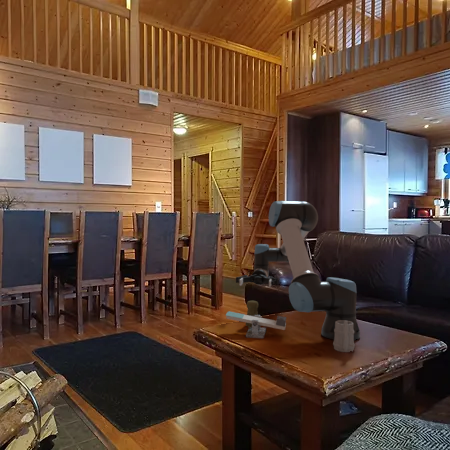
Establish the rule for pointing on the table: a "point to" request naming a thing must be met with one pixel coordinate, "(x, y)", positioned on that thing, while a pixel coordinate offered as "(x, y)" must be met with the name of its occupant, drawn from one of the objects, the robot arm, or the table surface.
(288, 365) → the table surface
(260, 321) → the beam
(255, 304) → the cork
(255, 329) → the stand
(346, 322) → the mug
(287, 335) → the table surface
